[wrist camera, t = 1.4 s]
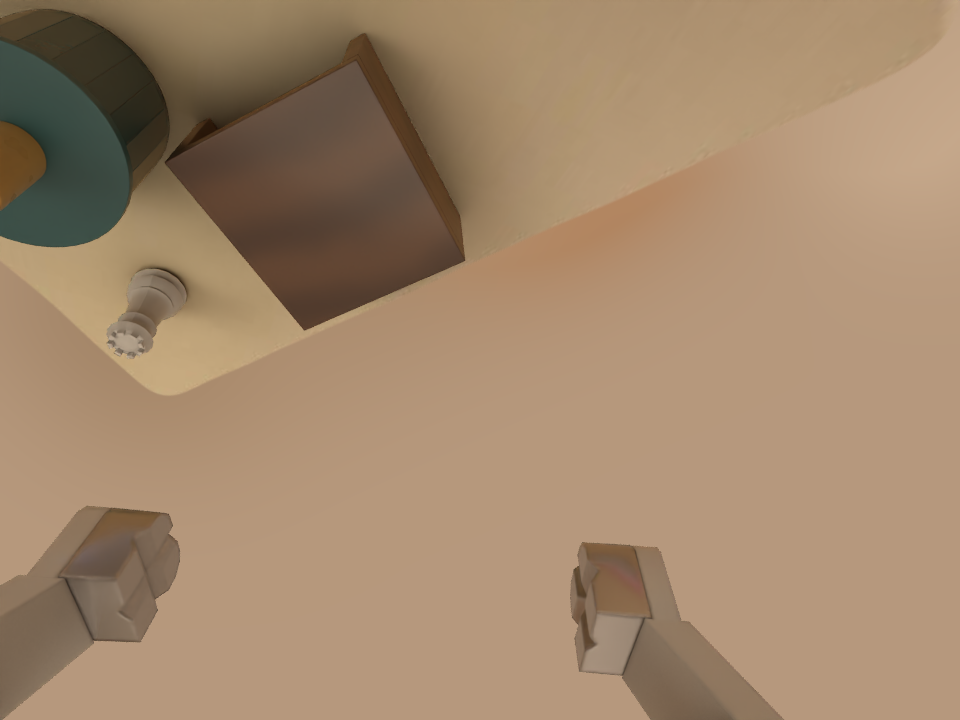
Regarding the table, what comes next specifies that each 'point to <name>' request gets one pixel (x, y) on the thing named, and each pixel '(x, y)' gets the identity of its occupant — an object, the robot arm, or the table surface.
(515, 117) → the table surface
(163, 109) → the tin
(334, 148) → the shelf
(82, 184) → the tin lid
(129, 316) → the rook chess piece
